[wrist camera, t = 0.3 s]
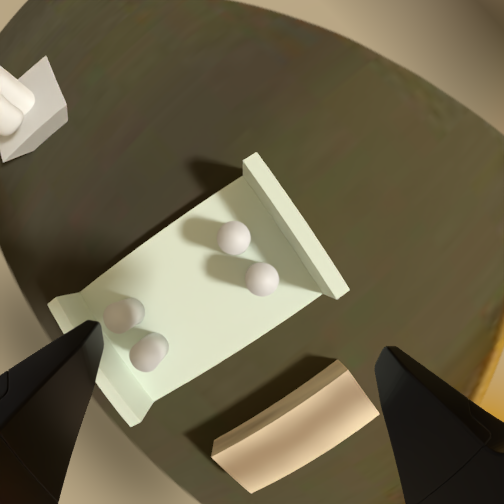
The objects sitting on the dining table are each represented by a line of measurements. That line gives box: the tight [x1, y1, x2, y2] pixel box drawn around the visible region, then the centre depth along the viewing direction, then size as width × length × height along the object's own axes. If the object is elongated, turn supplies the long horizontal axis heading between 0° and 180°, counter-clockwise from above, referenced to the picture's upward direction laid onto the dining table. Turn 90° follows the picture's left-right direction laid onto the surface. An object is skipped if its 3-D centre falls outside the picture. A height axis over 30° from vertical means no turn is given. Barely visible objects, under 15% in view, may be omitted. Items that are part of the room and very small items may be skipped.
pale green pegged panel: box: [47, 152, 350, 427], centre depth 21 cm, size 10×17×4 cm, turn 124°
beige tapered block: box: [211, 359, 379, 493], centre depth 22 cm, size 5×12×3 cm, turn 126°
